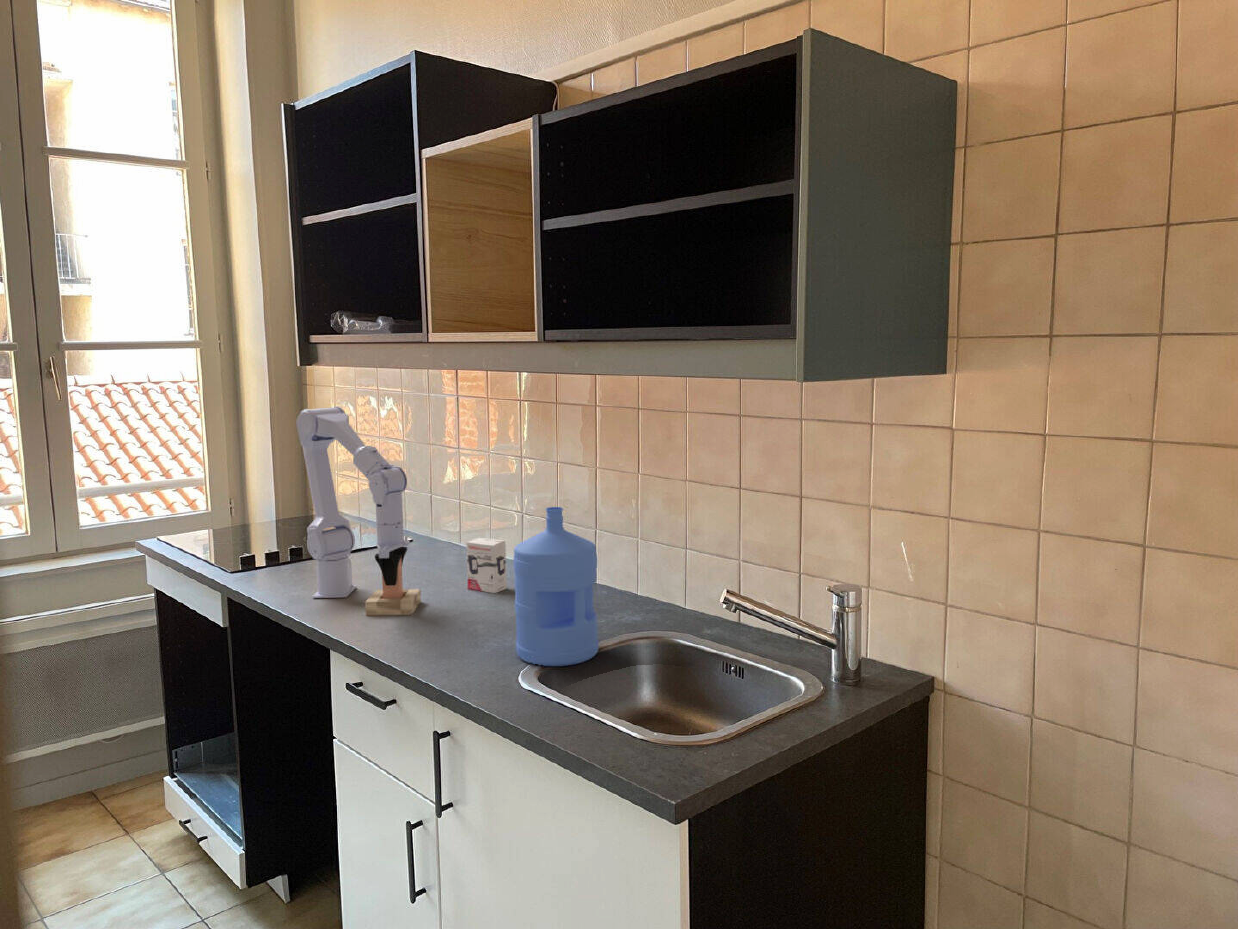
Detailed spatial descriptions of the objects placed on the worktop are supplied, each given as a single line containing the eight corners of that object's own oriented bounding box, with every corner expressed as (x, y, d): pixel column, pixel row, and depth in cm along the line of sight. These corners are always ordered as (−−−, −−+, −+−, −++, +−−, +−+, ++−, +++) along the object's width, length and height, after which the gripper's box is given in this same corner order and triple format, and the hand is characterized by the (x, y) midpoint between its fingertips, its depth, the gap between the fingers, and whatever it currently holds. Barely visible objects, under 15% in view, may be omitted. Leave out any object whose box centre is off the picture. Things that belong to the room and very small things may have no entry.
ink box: (466, 589, 222) (465, 541, 221) (479, 584, 226) (478, 537, 225) (495, 593, 218) (493, 544, 216) (508, 588, 222) (506, 540, 221)
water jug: (499, 654, 176) (494, 509, 172) (561, 635, 187) (558, 498, 183) (552, 674, 165) (549, 520, 161) (615, 653, 176) (613, 507, 172)
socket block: (376, 602, 212) (376, 589, 211) (420, 601, 212) (420, 588, 212) (365, 615, 202) (365, 602, 202) (412, 614, 202) (411, 601, 202)
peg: (387, 599, 209) (385, 556, 207) (403, 599, 209) (401, 556, 207) (383, 604, 205) (381, 560, 204) (399, 604, 205) (397, 560, 204)
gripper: (401, 529, 197) (404, 591, 199) (414, 516, 212) (417, 574, 213) (367, 529, 197) (371, 591, 199) (383, 516, 211) (386, 574, 213)
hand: (392, 582), depth 206 cm, fingers closed on peg, 4 cm apart
